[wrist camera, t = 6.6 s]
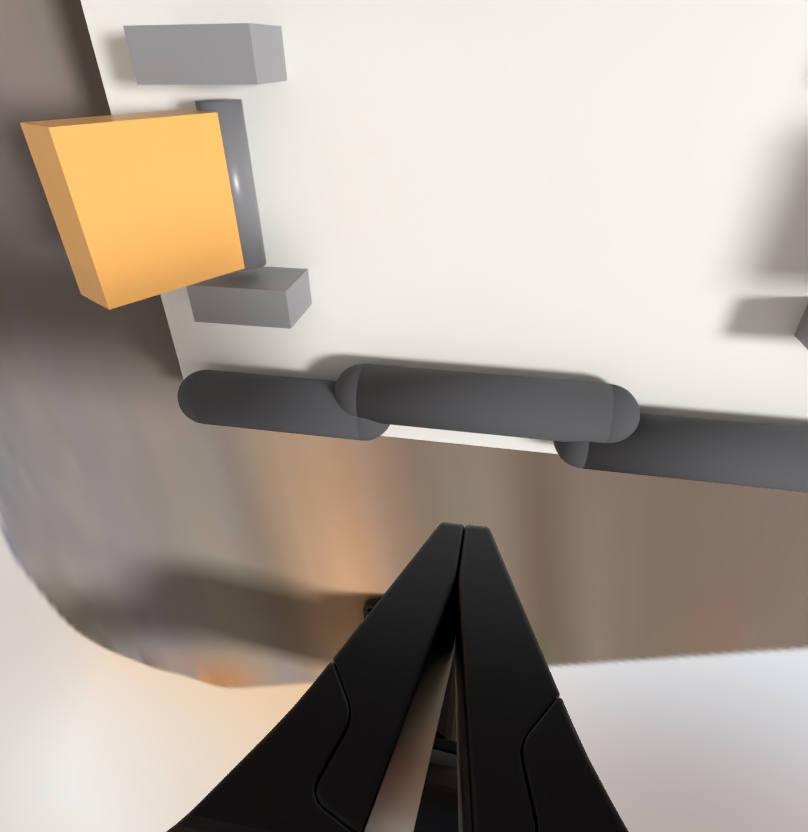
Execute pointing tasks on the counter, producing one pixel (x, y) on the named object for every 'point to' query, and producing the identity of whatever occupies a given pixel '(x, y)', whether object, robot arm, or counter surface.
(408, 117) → the white tray
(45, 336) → the counter surface
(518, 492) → the counter surface
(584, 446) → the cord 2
